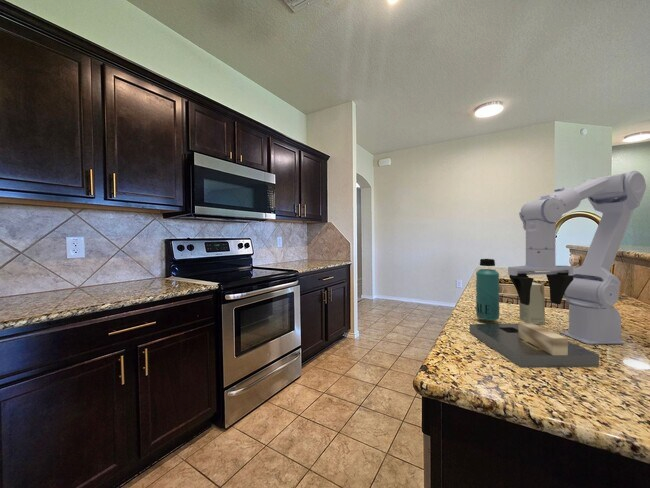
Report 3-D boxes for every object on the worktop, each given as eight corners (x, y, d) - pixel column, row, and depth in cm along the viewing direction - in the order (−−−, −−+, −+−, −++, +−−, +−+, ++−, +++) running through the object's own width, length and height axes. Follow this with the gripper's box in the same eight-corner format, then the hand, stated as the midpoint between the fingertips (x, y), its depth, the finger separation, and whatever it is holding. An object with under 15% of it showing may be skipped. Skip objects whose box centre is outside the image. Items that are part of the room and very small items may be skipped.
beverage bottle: (499, 320, 86) (499, 258, 85) (499, 326, 80) (499, 259, 80) (476, 317, 89) (476, 257, 89) (475, 323, 84) (474, 259, 83)
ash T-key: (567, 366, 55) (567, 338, 55) (552, 366, 55) (552, 338, 55) (530, 346, 65) (530, 322, 65) (518, 346, 65) (518, 322, 65)
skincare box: (545, 325, 80) (545, 285, 80) (529, 324, 81) (529, 284, 81) (533, 319, 87) (533, 281, 86) (518, 318, 88) (518, 281, 87)
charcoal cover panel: (526, 332, 75) (527, 323, 75) (598, 366, 55) (598, 354, 55) (469, 333, 75) (469, 323, 75) (520, 367, 55) (520, 355, 55)
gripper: (555, 247, 70) (555, 299, 70) (500, 248, 70) (500, 300, 70) (581, 248, 63) (581, 306, 63) (519, 250, 63) (519, 307, 63)
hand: (540, 303), depth 66 cm, fingers open, 7 cm apart
